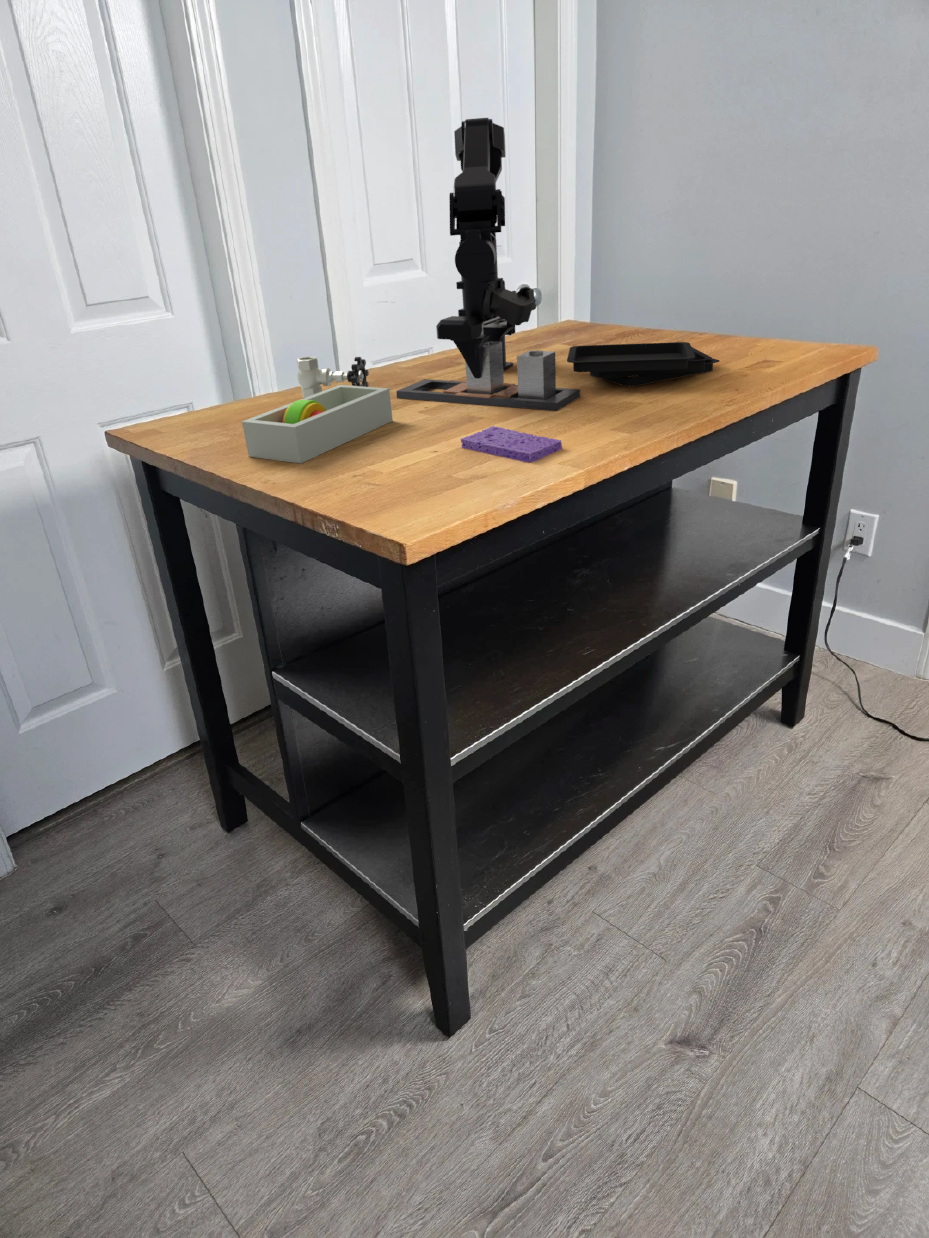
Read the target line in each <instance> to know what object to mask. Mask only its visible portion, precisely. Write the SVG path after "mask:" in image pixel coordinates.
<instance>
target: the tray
mask: <svg viewBox="0 0 929 1238" xmlns="http://www.w3.org/2000/svg"><path fill="white" fill-rule="evenodd" d="M566 362H567V363H569V364H570V363H572V364H573V366H572V367H573V372H575V373H589V376H590V377H594V378H597V379H599V380H600V379H601V380H603V381H607V382H611V383H614V384H618V385H620V386H623V387H638V386H642V385H643V386H644V385H647V384H653V383H657V382H659V383H660V382H662V381H663V382H664V381H668V380H673V379H677V378H684V377H689V376H693V375H700V374H705V373H710V372H712V371H713V368H714V364H716V363H719V362H720V359H717V358H713V357H711V356H710V355H707V354H706V353H704V352H702V351H700V350H699V349H697V348H695V347H693V346H692V345H691V343H690V342H687V341H685V342H684V341H673V342H670V341H669V342H649V343H647V342H645V343H644V342H643V343H642V342H641V343H624V344H623V343H622V344H621V343H620V344H619V343H618V344H617V343H616V344H594V345H591V344H590V345H589V344H587V345H573V346H570V347H569V350H568V354H567V358H566Z"/></svg>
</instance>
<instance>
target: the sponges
mask: <svg viewBox="0 0 929 1238" xmlns="http://www.w3.org/2000/svg"><path fill="white" fill-rule="evenodd" d="M460 444H461V448H462V449H466V450H470V451H475V452H480V453H484V454H489V455H494V456H497V457H502V458H506V459H511V460H515V461H518V462H519V461H520V462H524V463H533V462H536V461H538V460H540V459H541V460H542V459H543V458H545V457H548V456H549V455H551V454H554V453H556V452H559V451H561V450H563V446H562V444H563V442H562V439H556V438H549V437H546V436H541V435H539V436H538V435H533V434H531V433H526V432H519V431H517V430H514V429H513V430H512V429H508V428H507V429H506V428H504V427H500V426H495V425H493V426H490V427H488V428H485V429H482V431H477V432H476V433H473V434H471V435H466V436H465V437H461V438H460Z"/></svg>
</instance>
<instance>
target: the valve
mask: <svg viewBox="0 0 929 1238" xmlns="http://www.w3.org/2000/svg"><path fill="white" fill-rule="evenodd" d="M353 360H354V362H356V363H352V364H351V368H350V369H351V370H347V373H345V372H344V371H343V370H338V371H335V372H333V371H332V370H331V369H330V368H326V367H325V368H322V369H321V370H320V369H319V363H318V358H317V356H314V355H313V356H311V355H310V356H309V355H308V356H301V357H298V358H296V363H297V368H298V373H297V381H298V383H299V385H300V389H301V394H302V397H303V398H306V397H308V396H311V395H314V394H316V393H319V392H322V391H323V389H322V386H324V387H330V386H331V385H332V383H334V382H336V383H344V382H345V381H346V380H347V381H348V383H350V384H351V386H363V387H370V386H369V382H368V381H367V377H368V376H369V373H370V372H369V370H368V369H366V364H367V362H366V361H367V360H366V358H365V359H364V358H363V359H362V356H355V357H354V359H353Z"/></svg>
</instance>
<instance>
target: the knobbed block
mask: <svg viewBox="0 0 929 1238" xmlns="http://www.w3.org/2000/svg"><path fill="white" fill-rule="evenodd" d="M464 361H465V360H464ZM464 364H465V377H466V379H465V380H466V381H465V382H467V393H475V394H488V395H494V394H496V393H495V392H497V391H499V390H501V389H503V388H504V383H505V381H504V380H505V379H504V378H505V377H504V370H503V353H502V342H499V341H486V342H485V343H484V345H483V356H482V373H481V378H479V379H478V378H474V376H473V374H472V372H471V371H470V369H469V367H468V365H467V363H466V361H465V363H464Z"/></svg>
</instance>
